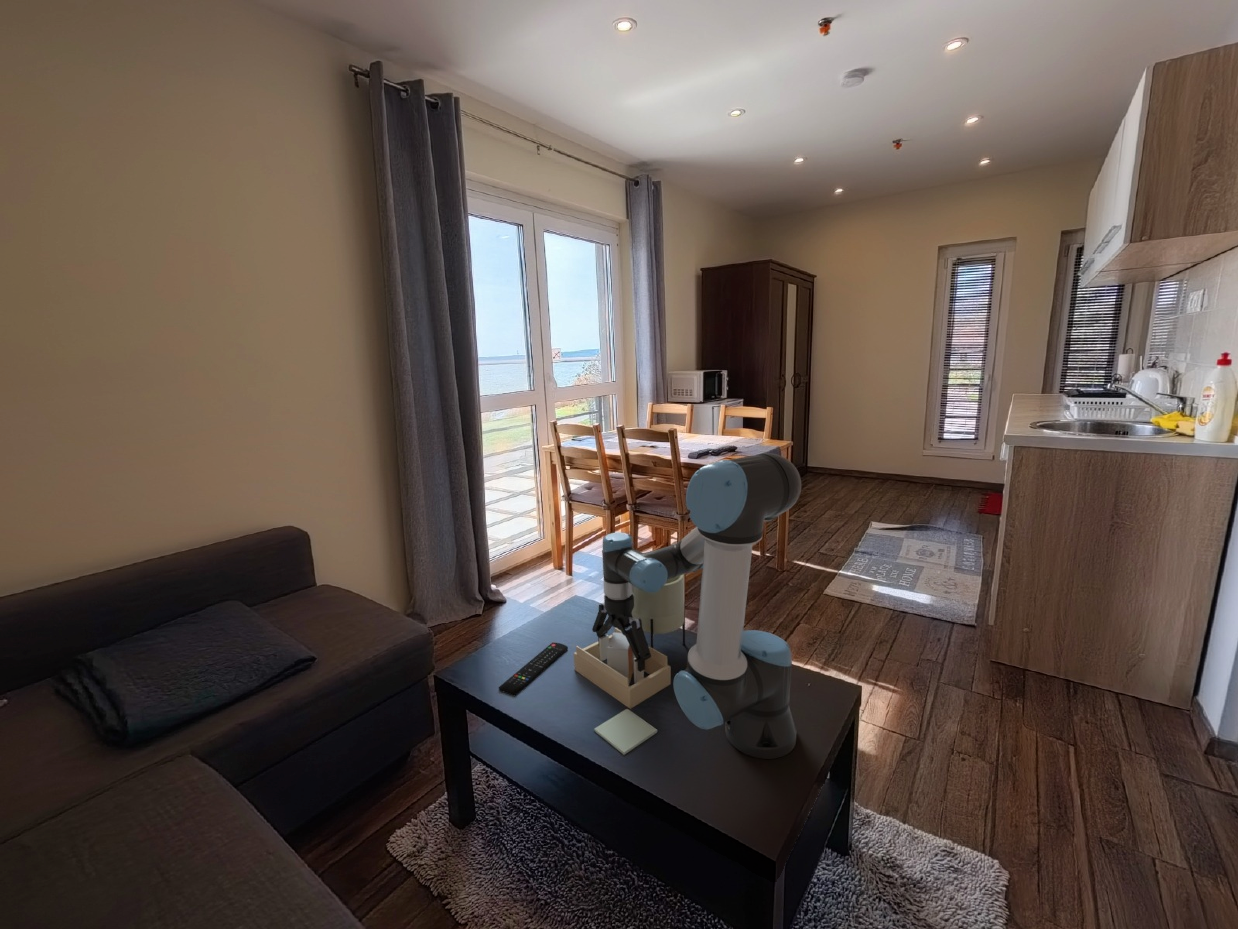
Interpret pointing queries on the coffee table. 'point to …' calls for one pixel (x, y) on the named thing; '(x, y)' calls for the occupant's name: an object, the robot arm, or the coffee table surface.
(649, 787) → the coffee table surface
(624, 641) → the small box
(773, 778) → the coffee table surface
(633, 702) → the tray
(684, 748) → the coffee table surface
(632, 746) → the pad
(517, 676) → the remote control
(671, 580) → the planter
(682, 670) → the robot arm
